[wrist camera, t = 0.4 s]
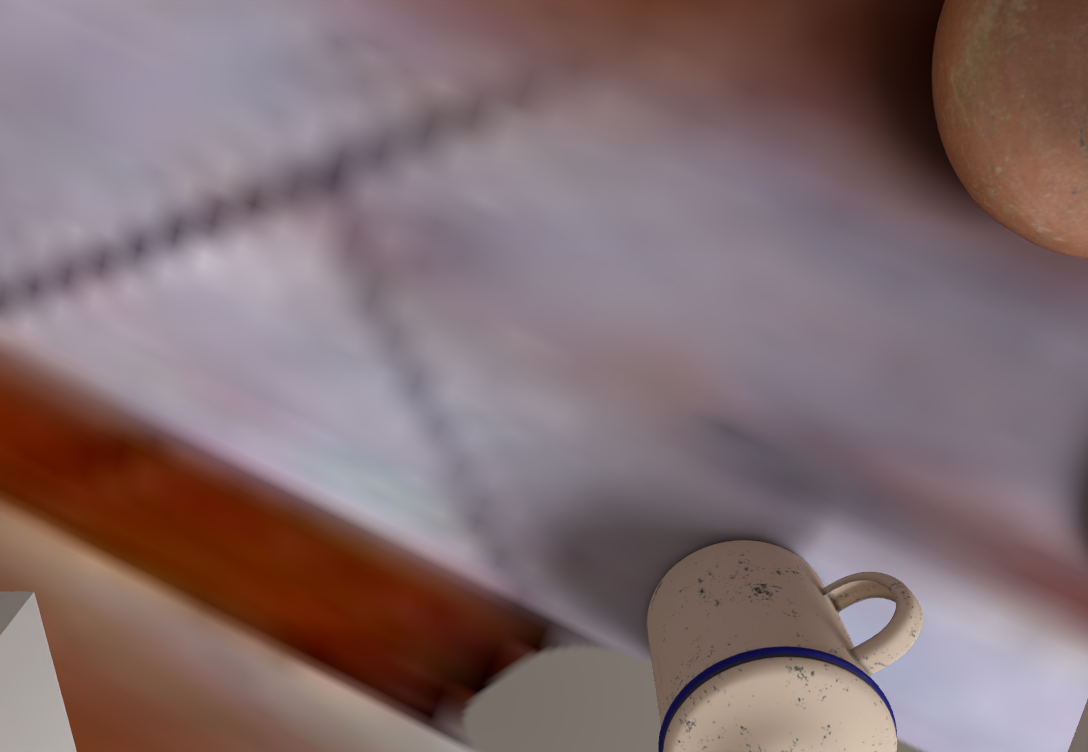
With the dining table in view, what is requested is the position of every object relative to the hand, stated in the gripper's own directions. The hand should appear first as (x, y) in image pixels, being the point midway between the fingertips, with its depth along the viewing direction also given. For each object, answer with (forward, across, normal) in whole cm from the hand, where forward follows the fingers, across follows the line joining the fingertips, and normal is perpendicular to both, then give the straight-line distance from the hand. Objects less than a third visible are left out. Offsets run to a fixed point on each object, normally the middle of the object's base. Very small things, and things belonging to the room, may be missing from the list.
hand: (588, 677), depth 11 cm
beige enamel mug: (+25, +11, -19) cm, 33 cm away
